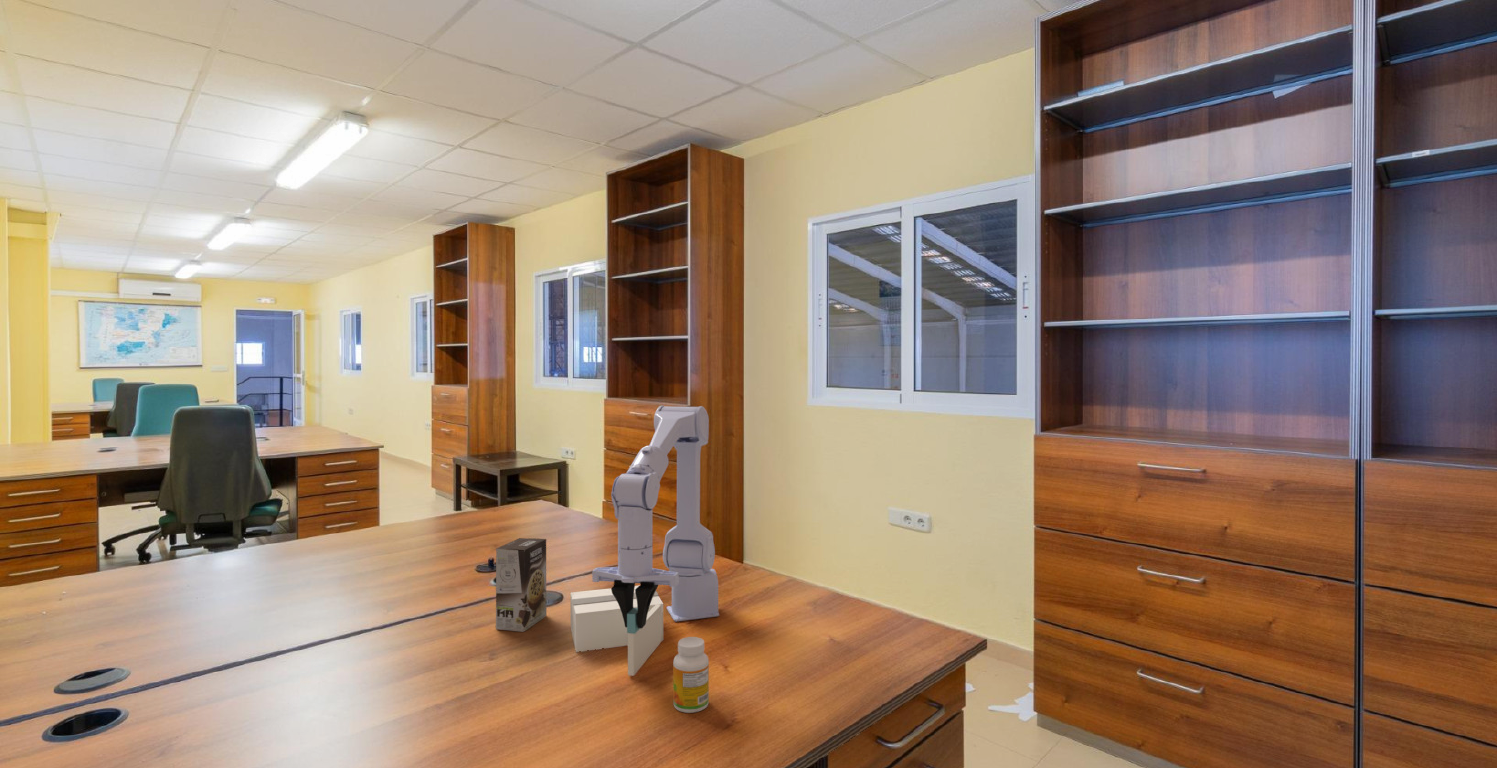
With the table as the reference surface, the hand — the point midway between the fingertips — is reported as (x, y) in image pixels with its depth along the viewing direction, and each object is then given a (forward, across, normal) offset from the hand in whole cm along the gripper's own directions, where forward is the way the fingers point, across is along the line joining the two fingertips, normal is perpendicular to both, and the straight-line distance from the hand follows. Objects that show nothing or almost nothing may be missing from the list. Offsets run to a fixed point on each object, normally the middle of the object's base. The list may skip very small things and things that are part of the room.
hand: (635, 625), depth 113 cm
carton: (+8, -9, +15) cm, 19 cm away
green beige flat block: (+8, 0, +5) cm, 9 cm away
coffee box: (+8, -30, +17) cm, 36 cm away
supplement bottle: (+8, +12, -9) cm, 17 cm away
